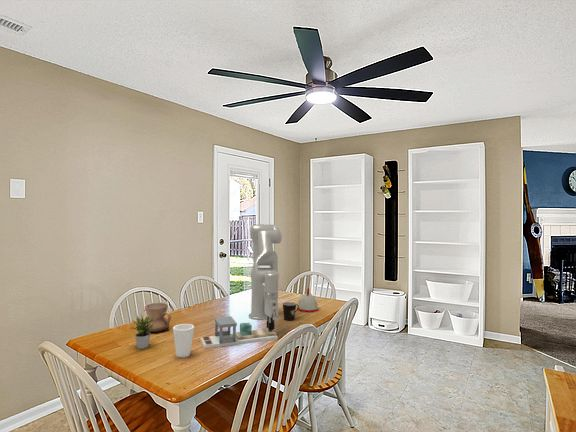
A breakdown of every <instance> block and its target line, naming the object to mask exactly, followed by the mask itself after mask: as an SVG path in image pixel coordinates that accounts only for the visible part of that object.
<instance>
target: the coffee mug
mask: <svg viewBox="0 0 576 432" xmlns="http://www.w3.org/2000/svg"><path fill="white" fill-rule="evenodd" d="M298 308H299V305H298V304H297V303H296V302H291V301H286V302H283V303H282V310H283V320H284V321H286V322H293V321H294V320H295V318H296V317H295V315H296V312H298V311H299V310H298Z"/></svg>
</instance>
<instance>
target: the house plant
mask: <svg viewBox="0 0 576 432" xmlns="http://www.w3.org/2000/svg"><path fill="white" fill-rule="evenodd" d="M140 316H141V318H139V317H138V316H137V315H136V314H135V318H136V320H133V319H130V320H131V321H132V322H133V323H134V324H135V325H136V326H135V327H134V326H131V327H130V328H128V329H129V330H136V331H137V333H135V335H134V338H135V342H136V348H137V349H138V350H143V349H147V348H149V345H150V340H151V339H150V338H151V333H152V332H148V330H149V328H153V329H155V328H154V327H153V326H154V325H153V324H152V325H151V324H150V323H152V321H153V320H154V318H155V317H154V318H152V319H151V320H150V321H149V322H148V320H149V316H150V315H148V314H146V317H145V318H144V317H143V314H142V313H140ZM156 317H158V316H156ZM155 320H156V318H155ZM147 323H148V324H147ZM146 324H147V325H146ZM154 324H155V323H154ZM149 325H151V326H149ZM148 326H149V327H148Z"/></svg>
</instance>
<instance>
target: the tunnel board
mask: <svg viewBox="0 0 576 432" xmlns="http://www.w3.org/2000/svg"><path fill="white" fill-rule="evenodd" d="M214 323H215V324H214V335H211V336H209V335H208V336H202V337H201V336H200V343H201V344H202V346H203V347H202V348H204V350H205V349H213V348H219V347H228V346H237V345H243V344H251V343H259V342H260V343H261V342H268V341H274V340H275V341H276V340H278V339H279V338H278V337H279V336H278V335H277V334H276V335H270V336H262V337H254V338H246V339H238V338H237V337H236V332H237V326H238V323H237V322H236V320H235V319H234V318H233V316H231V315H228V316H220V317H214ZM224 328H225V329H226V328H227V330H224ZM231 328H232V333H231Z"/></svg>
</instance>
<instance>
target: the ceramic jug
mask: <svg viewBox="0 0 576 432" xmlns="http://www.w3.org/2000/svg"><path fill="white" fill-rule="evenodd" d="M168 306H169V304H168V303H167V302H163V301H162V302H161V301H159V302H149V303H147V304H145V305H144V308H143V309H142V311H143V312H145V313H146V315H147V314H148V315H150V316H149V320H148V322H149V321H150V320H151V319H152V318H154V317H155V318H156V320H155V318H154V320H153V321H152V323H150V324H151V325H152V324H153V325H154V326H153V327H154V328H155V329H153V328H149V330H148V331H147V332H150V333H157V332H162V331H164V330H166V329H167V330H168V328H169V327H170V322H171V320H172V314H171V312H169V311H167V310H168ZM166 315H167V317H168V318H166V317H165V316H166ZM156 316H158V317H156ZM154 323H155V324H154ZM147 324H148V323H147ZM147 324H146V325H147ZM151 325H149V326H151ZM149 326H148V327H149Z"/></svg>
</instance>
